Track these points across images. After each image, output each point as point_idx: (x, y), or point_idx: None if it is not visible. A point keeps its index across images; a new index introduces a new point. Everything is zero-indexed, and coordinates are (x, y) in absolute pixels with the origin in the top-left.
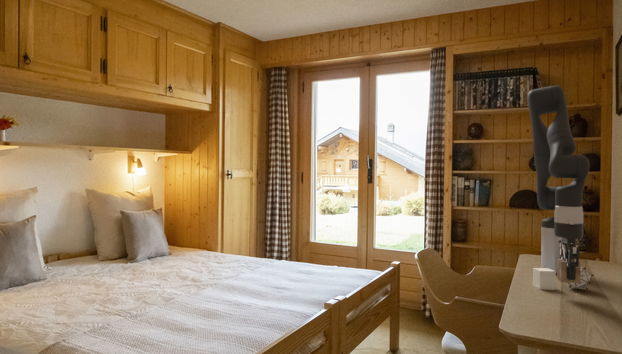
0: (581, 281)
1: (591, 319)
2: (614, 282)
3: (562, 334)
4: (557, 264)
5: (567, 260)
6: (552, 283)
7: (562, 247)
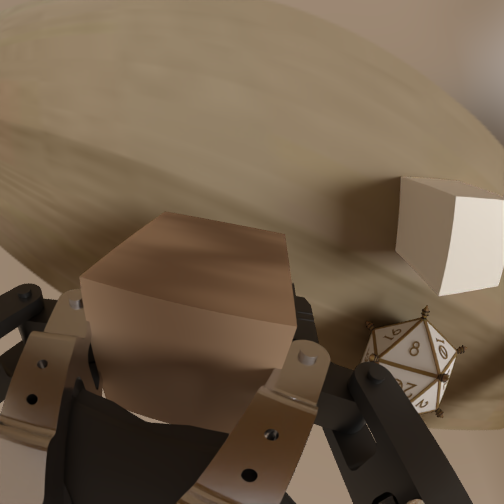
0: None
1: (8, 202)
2: (427, 425)
3: None
4: (282, 284)
5: (46, 327)
6: (410, 248)
7: (18, 452)
